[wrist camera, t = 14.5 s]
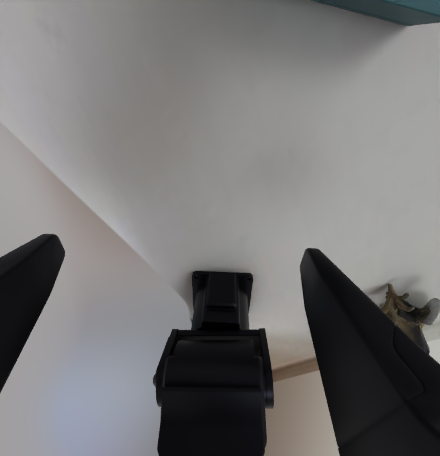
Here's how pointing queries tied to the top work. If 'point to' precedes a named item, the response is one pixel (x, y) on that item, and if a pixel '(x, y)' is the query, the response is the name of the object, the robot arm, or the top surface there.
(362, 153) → the top surface
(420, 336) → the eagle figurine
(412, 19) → the tote
